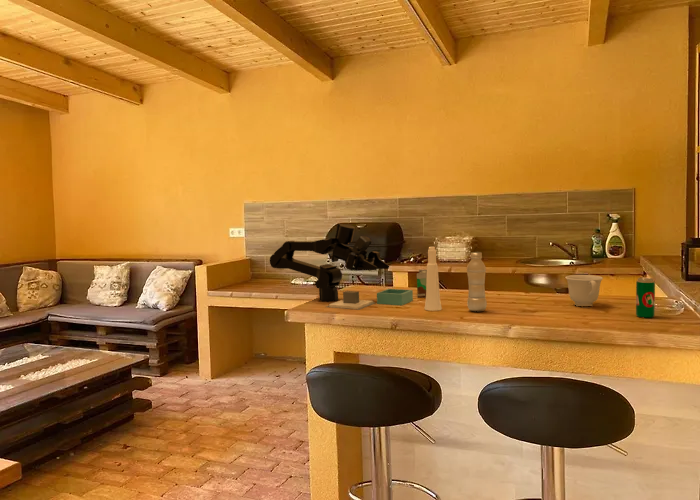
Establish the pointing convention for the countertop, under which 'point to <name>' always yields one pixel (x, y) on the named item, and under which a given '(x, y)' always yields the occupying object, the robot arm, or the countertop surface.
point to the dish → (394, 297)
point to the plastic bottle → (476, 283)
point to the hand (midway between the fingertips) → (382, 268)
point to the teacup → (584, 289)
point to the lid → (351, 301)
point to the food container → (421, 283)
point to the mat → (355, 309)
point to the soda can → (645, 297)
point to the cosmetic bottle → (432, 283)
